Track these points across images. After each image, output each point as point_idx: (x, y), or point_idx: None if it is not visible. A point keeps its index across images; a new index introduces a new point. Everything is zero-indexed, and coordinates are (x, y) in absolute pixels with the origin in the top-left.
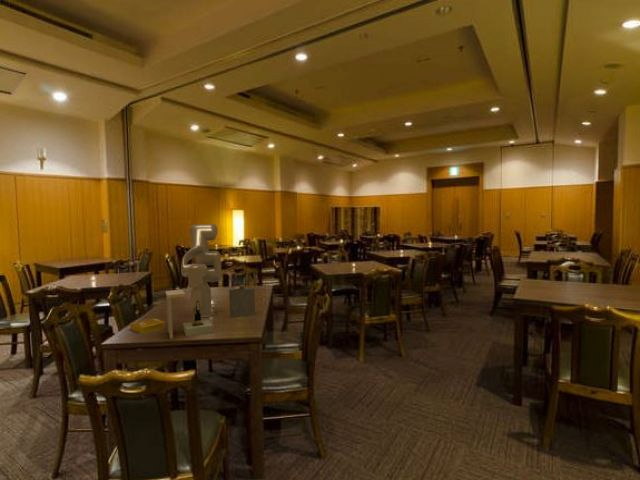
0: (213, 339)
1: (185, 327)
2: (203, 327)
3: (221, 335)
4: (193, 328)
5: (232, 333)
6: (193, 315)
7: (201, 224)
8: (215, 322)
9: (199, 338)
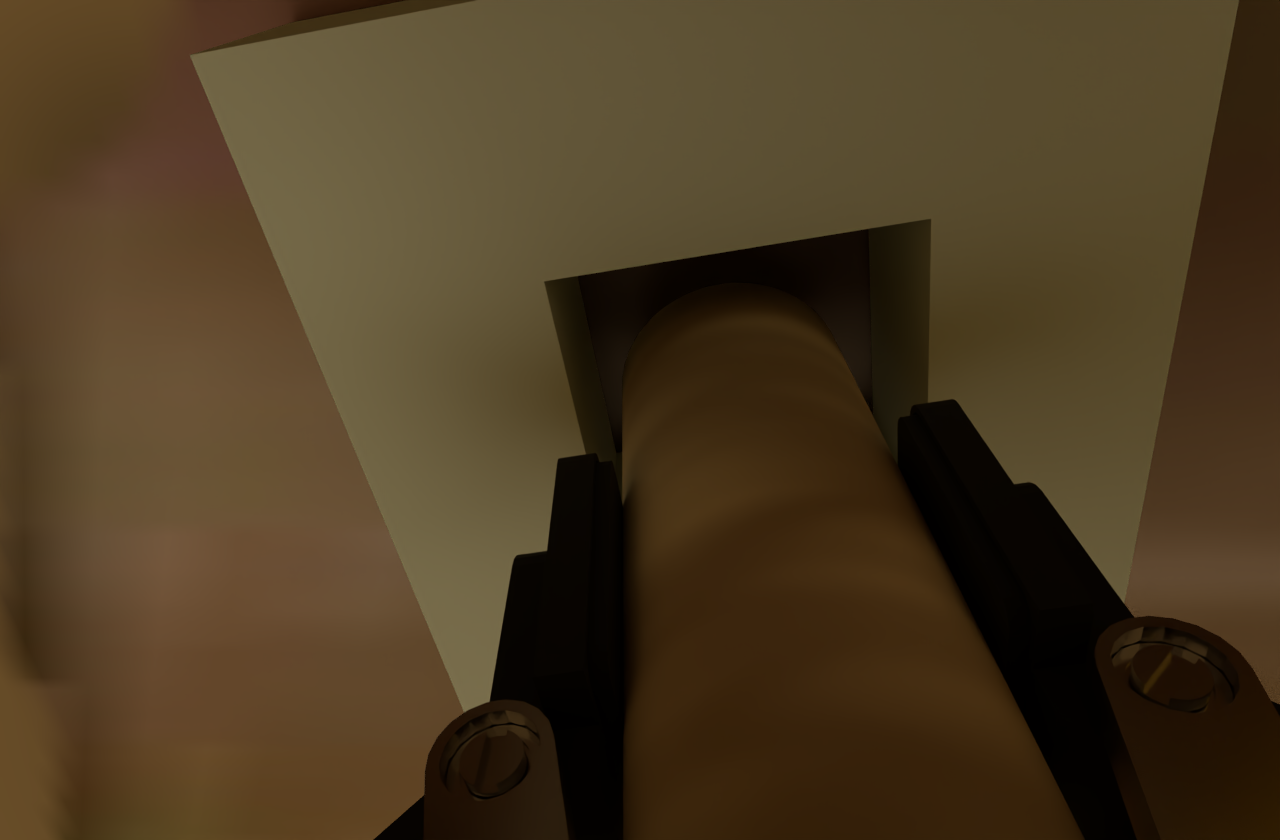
0: (11, 609)
1: (467, 18)
2: (405, 549)
3: (263, 713)
4: (305, 311)
5: (353, 832)
6: (747, 528)
7: None
8: (1274, 639)
9: (87, 371)
